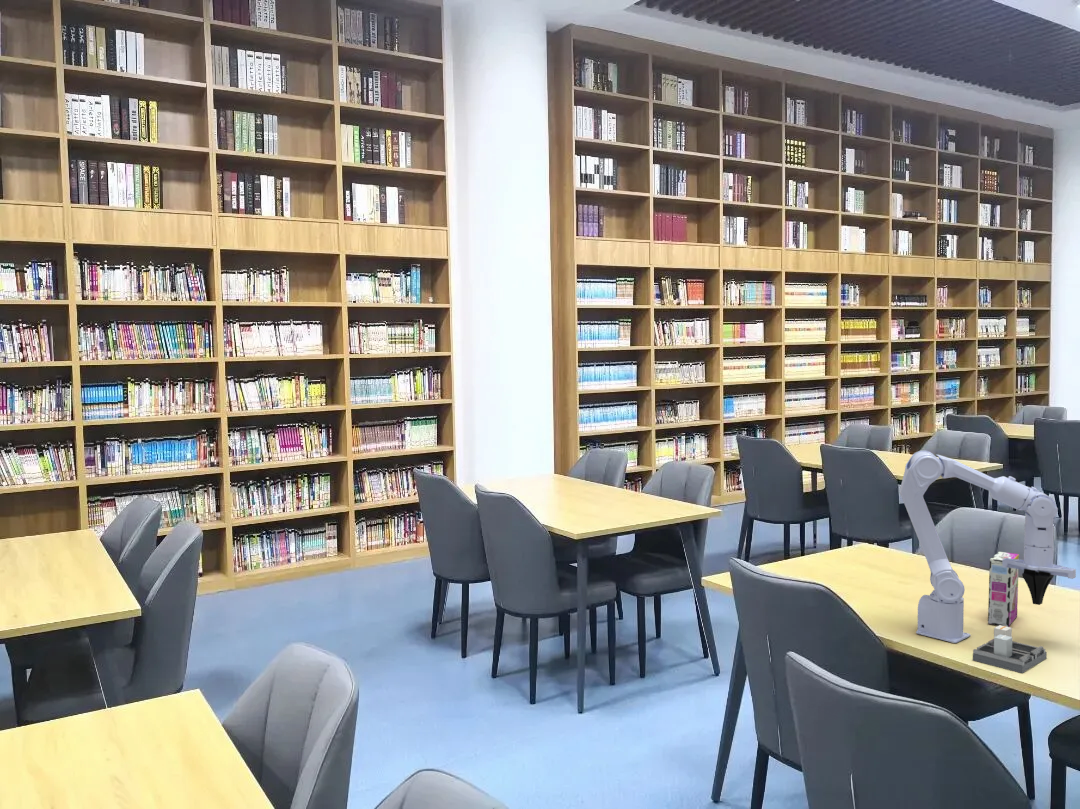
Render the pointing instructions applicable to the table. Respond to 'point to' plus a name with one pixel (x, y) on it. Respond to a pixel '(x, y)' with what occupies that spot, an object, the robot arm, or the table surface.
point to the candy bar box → (1002, 591)
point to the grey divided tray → (1019, 660)
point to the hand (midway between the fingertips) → (1037, 603)
